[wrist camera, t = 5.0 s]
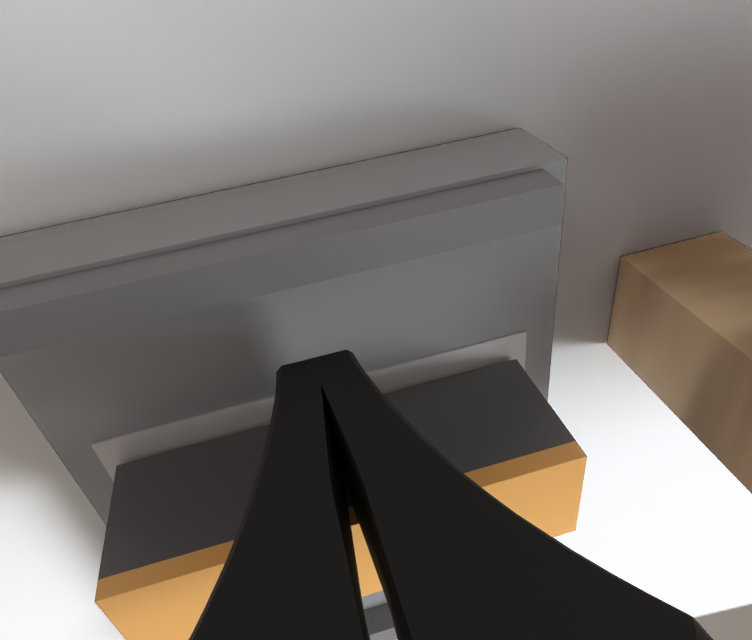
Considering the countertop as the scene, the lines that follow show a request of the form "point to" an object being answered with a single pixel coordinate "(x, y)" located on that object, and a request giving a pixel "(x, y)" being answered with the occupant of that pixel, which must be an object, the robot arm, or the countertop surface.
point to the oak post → (693, 338)
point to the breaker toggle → (243, 457)
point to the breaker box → (280, 298)
